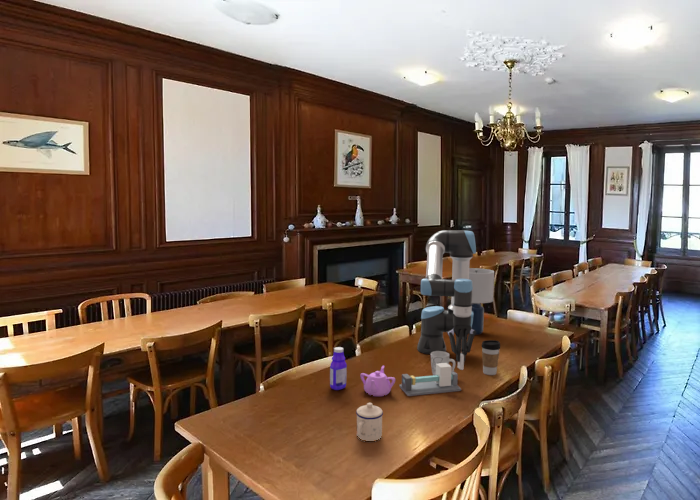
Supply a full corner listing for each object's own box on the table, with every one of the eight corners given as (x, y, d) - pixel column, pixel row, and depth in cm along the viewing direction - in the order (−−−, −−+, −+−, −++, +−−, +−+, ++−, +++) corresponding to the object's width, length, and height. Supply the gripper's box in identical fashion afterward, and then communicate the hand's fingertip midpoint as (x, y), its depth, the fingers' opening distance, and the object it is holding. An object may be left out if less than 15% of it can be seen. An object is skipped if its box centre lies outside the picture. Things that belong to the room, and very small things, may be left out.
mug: (457, 374, 221) (457, 353, 220) (452, 380, 213) (453, 359, 212) (432, 370, 226) (433, 350, 225) (428, 376, 218) (428, 355, 217)
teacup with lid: (364, 427, 170) (364, 395, 168) (387, 434, 165) (387, 401, 164) (346, 441, 159) (346, 408, 158) (370, 449, 155) (370, 415, 153)
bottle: (339, 383, 209) (340, 345, 207) (348, 387, 205) (349, 348, 203) (327, 388, 204) (327, 348, 202) (336, 392, 200) (336, 351, 198)
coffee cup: (500, 376, 218) (501, 345, 217) (481, 375, 220) (482, 343, 219) (498, 370, 227) (499, 339, 225) (479, 369, 228) (481, 338, 227)
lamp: (495, 337, 279) (498, 272, 275) (460, 337, 280) (463, 271, 275) (486, 328, 299) (488, 267, 295) (453, 328, 300) (456, 266, 295)
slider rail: (399, 386, 206) (399, 372, 205) (450, 381, 212) (450, 367, 211) (407, 396, 196) (408, 380, 196) (461, 390, 202) (461, 376, 202)
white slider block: (435, 382, 207) (435, 363, 206) (445, 381, 209) (446, 362, 208) (440, 386, 202) (440, 367, 202) (450, 385, 204) (451, 366, 203)
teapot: (383, 384, 209) (383, 364, 208) (397, 396, 196) (398, 375, 195) (358, 387, 205) (358, 368, 204) (371, 400, 192) (371, 379, 191)
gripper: (452, 318, 199) (450, 372, 202) (480, 316, 202) (478, 370, 205) (444, 313, 206) (442, 366, 209) (471, 312, 209) (469, 364, 212)
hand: (460, 368), depth 207 cm, fingers closed
